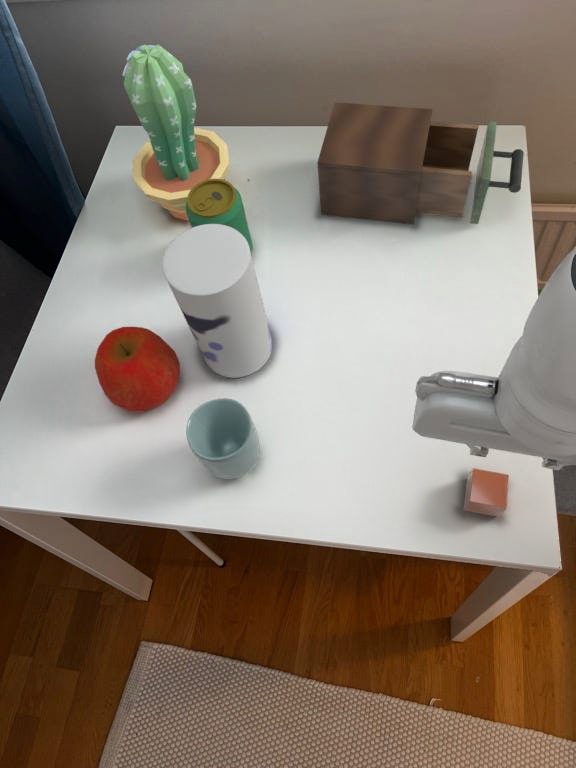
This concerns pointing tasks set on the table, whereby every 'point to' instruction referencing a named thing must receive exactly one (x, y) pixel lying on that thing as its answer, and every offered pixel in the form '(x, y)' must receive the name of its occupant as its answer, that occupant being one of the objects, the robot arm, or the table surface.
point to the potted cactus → (170, 130)
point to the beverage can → (217, 206)
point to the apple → (136, 368)
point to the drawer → (461, 170)
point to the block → (486, 492)
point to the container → (220, 298)
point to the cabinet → (373, 162)
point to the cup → (223, 438)
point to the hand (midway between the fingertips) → (513, 455)
